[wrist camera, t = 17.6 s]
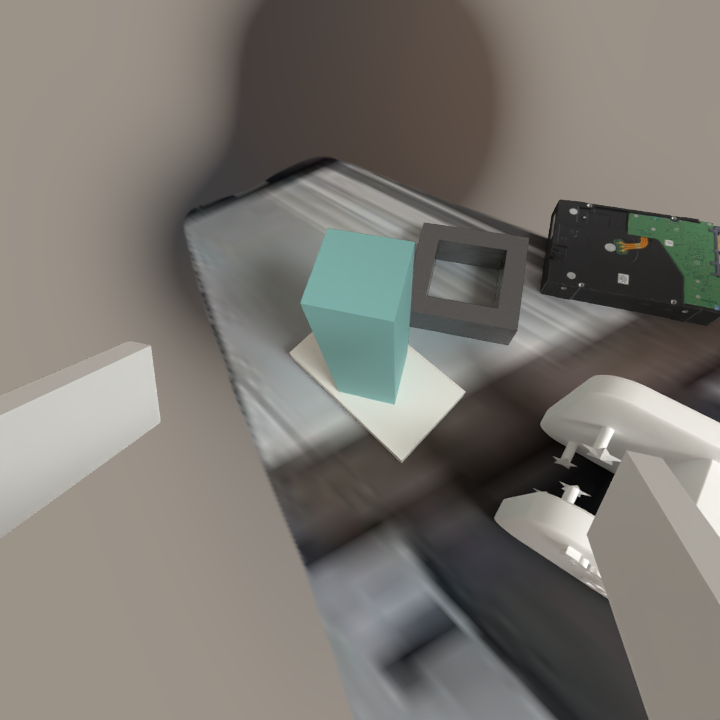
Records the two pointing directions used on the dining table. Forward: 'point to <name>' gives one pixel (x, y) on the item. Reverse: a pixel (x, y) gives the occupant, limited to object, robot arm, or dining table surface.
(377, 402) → the off-white pad
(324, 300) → the teal peg
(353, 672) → the dining table surface
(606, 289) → the disk drive
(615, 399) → the cable organizer
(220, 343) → the dining table surface
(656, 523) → the robot arm
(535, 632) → the dining table surface
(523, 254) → the socket block
